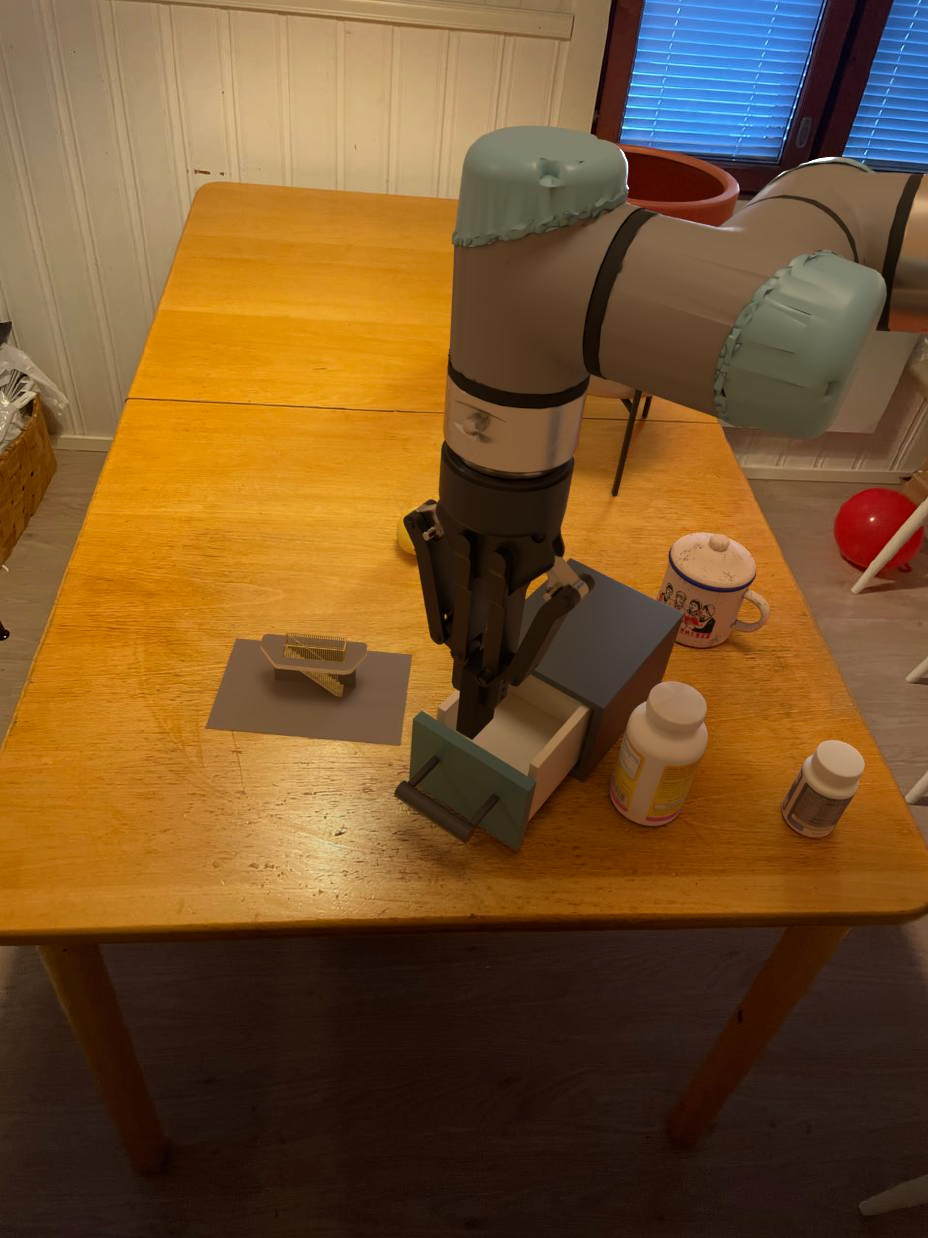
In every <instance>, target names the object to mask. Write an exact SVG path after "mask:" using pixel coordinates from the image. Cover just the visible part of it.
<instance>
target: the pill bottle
mask: <svg viewBox="0 0 928 1238" xmlns="http://www.w3.org/2000/svg"><path fill="white" fill-rule="evenodd" d="M865 762H866V761H865V759H864V757H863V755H862V754H861V753H860V751H858V749H856V748H855V747H854V746H852V745H851V744H849V743H846V742H845V741H842V740H836V739H828V740H825V741H823V742H820V744H818V746H817V747H816V749H815V751H814V752H813V754H811V755H810V756H808V757H806V759H805V760H804V761H803V763H802V765H801V767H800V769H799V771H798V773H797V774H796V777H795V779H794V781H793V782H792V784H791V786H790V788H789V789H788V792H787V793H786V795H785V798H784V799H783V801H782V803H781V813H782V816H783V818H784V820H785V822H786V823H787V824H788V826H789V827H790V828H791V829H792V830H794V831H795V832H796V833H798V834H801V835H803V836H806V837H809V838H823V837H826V836H828V835H829V834H831V832H833V830H834V829H835V827H836V826H837V824H838V823H839V821H840V819H841V818H842V816H843V815H844V813H845V812H846V810H847V808H848V806H849V805H850V803H851V802H852V800H853V798H854V797H855V795H856V794H857V793H858V791H859V787H860V779H861V777H862V775H863V773H864V771H865V768H866V763H865Z"/></svg>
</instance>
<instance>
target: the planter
mask: <svg viewBox="0 0 928 1238" xmlns="http://www.w3.org/2000/svg"><path fill="white" fill-rule="evenodd" d="M613 143H614V144H615V145H617V146H618V147H619V148H620V149H621V150H622V151H623V153H624V154H625V157H626V160H627V162H628V175H627V186H628V188H629V190H628V196H627V201H626V202H628V203H630V204H631V205H635V206H639V207H643V208H645V209H647V210H649V211H653V212H657V213H661V215H664V216H668V217H673V218H677V219H682V220H687V221H691V222H696V223H700V224H705V225H709V226H714V227H720V226H721V225H722V224H723V223H725V222H726V221H727V220H729V219H730V218H731V217H732V216H733V215H734V214H735V213H734V212H735V209H736V205H737V201H738V198H739V194H740V186H739V183H738V181H737V180H736V178H735V177H733V176H732V175H731V174H730V173H729V172H727V171H725V170H724V169H722V168H720V167H718V166H716V165H714V164H712V163H710V162H707V161H705V160H702V159H699V158H697V157H694V156H690V155H686V154H683V153H680V152H676V151H671V150H667V149H662V148H658V147H651V146H644V145H638V144H628V143H619V142H618V143H617V142H613ZM586 396H590V397H596V398H601V399H611V400H613V399H614V400H620V401H621V403H622V405H623V406H624V407H625V409H626V410H627V412H628V413H629V414H628V419H627V424H626V427H625V432H624V437H623V441H622V445H621V449H620V453H619V454H620V455H619V458H618V462H617V465H616V471H615V475H614V479H613V483H612V488H611V495H612V496H613V497H617V496H619V491H620V486H621V483H622V478H623V475H624V470H625V466H626V463H627V457H628V453H629V450H630V445H631V440H632V436H633V433H634V432H633V431H634V429H635V424H636V419H637V414H638V411H639V406H640V402H641V399H644V398H645V399H644V403H643V408H642V412H641V418H642V419H647V418H648V416H649V412H650V409H651V404H652V401H653V397H655V396H654V395H651V394H648V393H645V392H642V391H640V390H637V389H634V388H631V387H628V386H625V385H623V384H620V383H617V382H614V381H611V380H605V379H603V378H600V377H597V376H594V375H592V374H591V377H590V383H589V386H588V388H587V395H586ZM631 400H632V401H631Z"/></svg>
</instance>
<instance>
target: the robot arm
mask: <svg viewBox="0 0 928 1238" xmlns="http://www.w3.org/2000/svg"><path fill="white" fill-rule="evenodd" d="M614 143H615V142H612V141H608V140H606V139H599V138H598V137H597V136H596V135H595V134H592V133H589V132H586V131H582V130H578V129H577V130H576V129H573V128H566V127H565V128H564V127H558V126H549V125H515V126H506V127H501V128H497V129H495V130H493V131H489V132H488V133H484V134H482V135H481V136H479V137H478V138H477V139H476V140H475V141H474V142H473V143H472V144H471V145H470V147H469V148H468V149H467V151H466V153H465V156H464V159H463V163H462V170H461V178H460V185H459V193H458V200H457V201H458V202H457V210H456V219H455V227H454V231H453V232H452V233H451V245H453V265H452V266H453V270H452V289H451V292H452V293H451V308H450V309H451V310H450V328H449V329H450V331H449V332H450V333H449V348H448V354H447V365H446V380H445V393H444V408H443V409H444V410H443V423H442V433H443V438H444V440H443V442H442V444H441V449H440V463H439V479H438V480H439V481H438V498H439V499H438V500H437V501H436V500H435V499H432V498H429V499H428V500H426V501H425V502H423V503H422V504H420V505H418V506H419V507H418V508H416V509H415V510H413V511H412V512H411V513H409V514H408V515H406V516H405V517H404V519H403V523H404V526H405V528H406V530H407V532H408V535H409V537H410V539H411V541H412V543H413V545H414V548H415V552H416V556H415V557H416V563H417V569H418V574H419V580H420V587H421V592H422V597H423V603H424V609H425V614H426V620H427V621H426V622H427V627H428V631H429V636H430V639H431V640H432V642H433V643H434V644H436V645H438V646H442V645H445V646H446V647H447V648H448V649H449V650H450V651H449V652H450V656H451V658H452V659H453V662H452V673H451V675H452V676H451V684H452V688H453V689H455V690H456V689H457V690H458V691H460V694H459V704H458V714H457V724H456V731H458V732H459V733H461V734H463V735H464V736H466V737H468V738H469V739H471V740H473V739H474V738H475V737H476V736H477V735H478V734H479V733H480V732H481V731H482V730H483V729H484V728H485V727H486V726H487V725H488V724H489V723H490V721H491V720H492V719H493V718H494V711H495V707H496V706H497V705H498V704H499V703H500V702H501V701H502V700H503V699H504V698H505V697H506V696H507V693H508V685H509V684H510V685H512V686H514V687H517V686H519V685H520V684H521V683H522V682H523V681H524V680H525V679H526V678H527V677H528V676H529V675H530V674H531V673H532V672H533V671H534V670H535V669H536V667H537V666H538V665H539V664H540V662H541V661H542V659H543V657H544V655H545V653H546V652H547V650H548V648H549V646H550V645H551V643H552V641H553V639H554V638H555V636H556V634H557V632H558V630H559V629H560V627H561V625H562V623H563V622H564V620H565V618H566V616H567V614H568V613H569V611H571V610H572V609H573V608H574V607H575V606H576V605H577V604H578V603H579V602H580V601H581V600H582V599H583V598H584V597H585V596H586V595H587V594H588V593H589V592H590V591H591V590H592V589H593V588H594V587H595V581H594V579H593V577H591V576H590V575H589V574H587V573H580V574H579V575H576V573H575V572H574V571H573V570H572V568H571V567H570V566H569V565H568V564H567V560H566V559H564V555H565V551H566V545H565V542H564V538H563V534H562V525H563V522H564V519H565V515H566V512H567V507H568V501H569V496H570V491H571V485H572V480H573V474H574V470H575V464H576V463H575V461H576V460H575V457H574V456H575V454H576V453H577V451H578V448H579V445H580V440H581V439H580V438H581V433H582V426H583V425H582V424H583V420H584V419H583V418H584V413H585V407H586V400H587V396H588V395H587V388H588V386H589V383H590V377H591V374H592V375H594V376H597V377H600V378H603V379H605V380H611V381H614V382H617V383H620V384H623V385H625V386H628V387H631V388H634V389H637V390H640V391H642V392H645V393H648V394H651V395H654V396H653V397H656V398H659V399H662V400H665V401H669V402H672V403H674V404H677V405H680V406H682V407H685V408H688V409H691V410H693V411H697V412H699V413H702V414H705V415H708V416H711V417H714V418H716V419H719V420H722V421H723V422H724V423H726V424H729V426H733V427H735V428H740V427H741V428H743V429H751V428H753V429H756V430H760V431H764V432H768V433H772V434H774V435H779V436H783V437H787V438H789V439H794V440H797V441H807V440H812V439H816V438H818V437H821V435H824V434H825V433H826V432H827V431H828V430H829V429H830V427H832V425H833V424H834V422H835V421H836V419H837V418H838V415H839V413H840V411H841V409H842V407H843V405H844V402H845V400H846V398H847V396H848V394H849V393H850V390H851V389H852V386H853V384H854V382H855V380H856V377H857V375H858V373H859V370H860V369H861V366H862V364H863V362H864V359H865V356H866V354H867V352H868V349H869V347H870V344H871V341H872V339H873V338H874V337H873V336H874V335H875V332H876V331H877V332H887V333H888V332H900V333H911V334H923V335H928V172H926V173H924V174H923V173H922V174H921V173H919V174H918V173H907V172H906V173H905V172H876V171H875V170H873V168H872V167H869V166H868V165H866V164H865V163H861V162H859V161H858V160H855V159H852V158H848V157H841V156H830V157H822V158H817V159H813V160H811V161H808V162H804V163H800V164H799V165H798V166H796V167H794V168H791V169H788V170H785V171H782V172H781V173H780V174H779V175H777V176H776V177H774V178H773V179H772V180H771V181H770V182H768V183H767V184H766V185H765V186H763V188H761V190H760V191H759V192H758V193H757V194H756V195H755V196H754V197H753V198H752V199H751V200H750V201H749V202H747V203H746V204H745V205H744V206H743V207H742V208H740V209H739V210H738V211H736V213H733V216H732V217H731V218H730V219H729V220H727V221H726V222H725V223H723V224H722V225H721V226H720V227H714V226H709V225H705V224H700V223H696V222H691V221H687V220H682V219H677V218H673V217H668V216H664V215H661V213H657V212H653V211H649V210H647V209H645V208H643V207H639V206H635V205H631V204H630V203H628V202H626V201H627V196H628V190H629V188H628V186H627V175H628V162H627V160H626V157H625V154H624V153H623V151H622V150H621V149H620V148H619V147H618V146H617V145H615V144H614ZM544 574H546V576H547V579H548V583H547V584H546V586H545V591H546V592H545V593H544V594H543V598H544V599H545V600H546V601H547V602H546V603H545V604H543V606H542V607H541V608H540V609H539V610H538V612H537V614H536V616H535V618H534V619H533V621H532V623H531V625H530V627H529V629H528V631H527V633H526V635H525V637H524V639H523V641H522V643H521V644H520V646H519V648H518V643H519V637H520V630H521V624H522V617H523V611H524V604H525V599H526V598H527V591H528V588H529V587H530V585H531V584H532V582H534V581H535V580H536V579H538V578H539V577H541V576H543V575H544ZM485 636H486V637H485ZM484 643H485V646H484V648H483V649H482V650H481V651H480V647H481V646H482V645H483V644H484Z"/></svg>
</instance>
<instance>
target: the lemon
mask: <svg viewBox="0 0 928 1238" xmlns="http://www.w3.org/2000/svg"><path fill="white" fill-rule="evenodd" d="M419 506H420V505H417V506H412V507H408V509H406V510H405V511H404V512H403V513H402V514H401V516H400V518H399V519H398V521H397V523H396V532H395V533H396V534H395V535H396V540H397V541H398V545H399V546H400V548H401V549H402V550H403V551H404V552H405V553H408V554H411V555H413V556H415V557H416V552H415V548H414V545H413V543H412V541H411V539H410V537H409V535H408V532H407V530H406V528H405V526H404V523H403V519H404V517H405V516H406V515H408V514H409V513H411V512H412V511H413V510H415V509H416V508H418V507H419Z"/></svg>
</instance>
